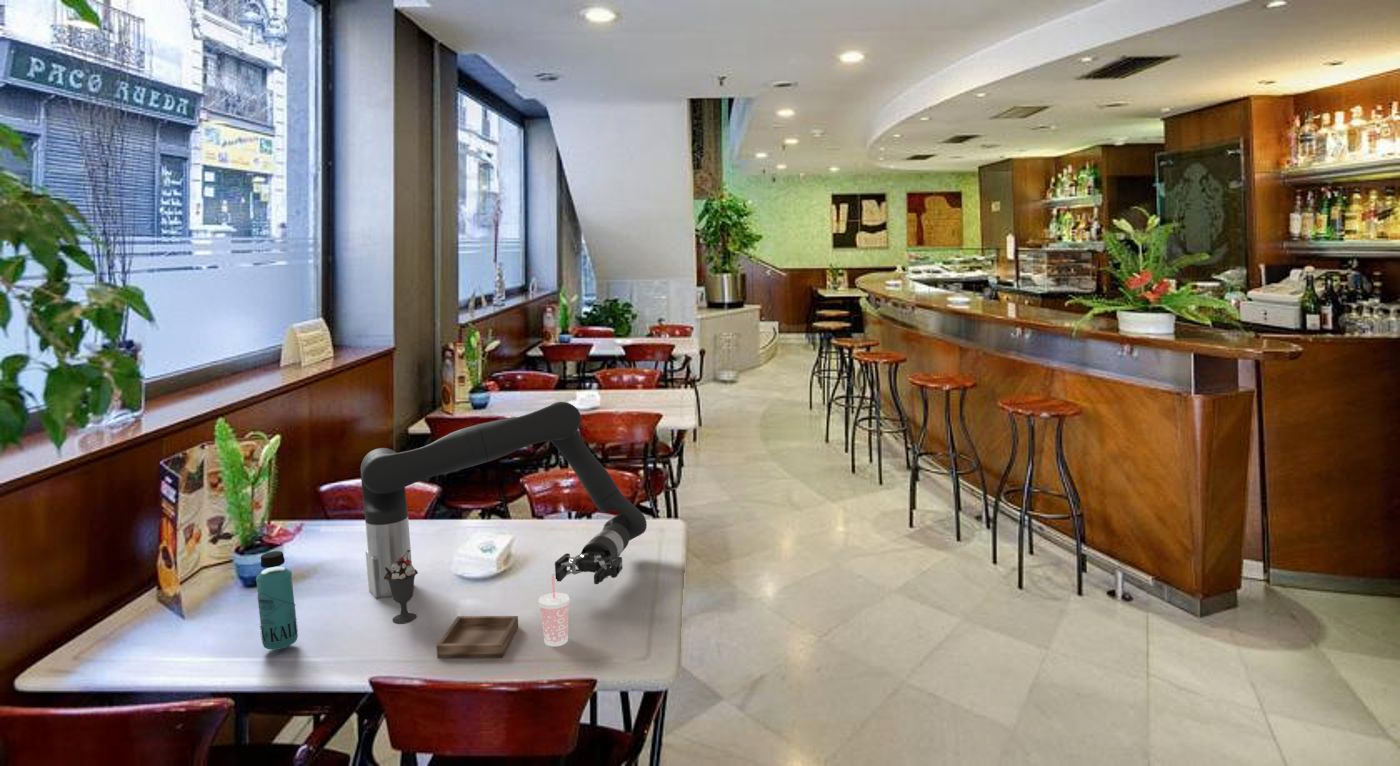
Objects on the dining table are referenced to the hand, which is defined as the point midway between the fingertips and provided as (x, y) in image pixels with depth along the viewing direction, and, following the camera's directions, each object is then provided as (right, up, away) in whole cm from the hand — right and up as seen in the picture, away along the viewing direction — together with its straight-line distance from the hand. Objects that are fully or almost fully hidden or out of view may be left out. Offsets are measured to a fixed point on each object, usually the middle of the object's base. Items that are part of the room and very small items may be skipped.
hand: (576, 578), depth 169 cm
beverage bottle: (-57, -11, -11) cm, 59 cm away
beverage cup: (-3, -10, -9) cm, 14 cm away
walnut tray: (-18, -10, -10) cm, 23 cm away
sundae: (-37, -9, +2) cm, 38 cm away
